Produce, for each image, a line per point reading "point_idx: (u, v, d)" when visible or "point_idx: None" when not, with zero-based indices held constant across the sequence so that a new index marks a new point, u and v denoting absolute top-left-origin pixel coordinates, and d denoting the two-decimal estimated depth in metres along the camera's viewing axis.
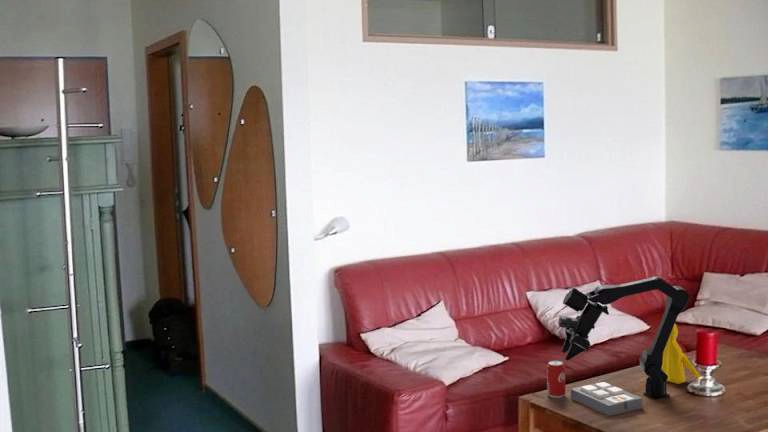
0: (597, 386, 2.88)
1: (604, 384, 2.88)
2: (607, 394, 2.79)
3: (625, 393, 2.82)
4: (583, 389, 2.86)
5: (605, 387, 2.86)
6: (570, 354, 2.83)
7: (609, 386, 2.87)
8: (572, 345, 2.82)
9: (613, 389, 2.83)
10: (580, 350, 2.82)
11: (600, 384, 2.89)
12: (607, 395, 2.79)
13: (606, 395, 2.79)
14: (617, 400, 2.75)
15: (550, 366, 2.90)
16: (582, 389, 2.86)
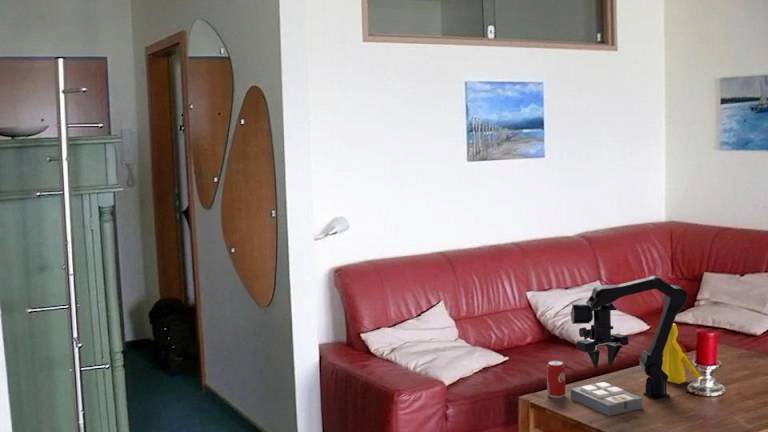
0: (597, 386, 2.88)
1: (604, 384, 2.88)
2: (607, 394, 2.79)
3: (625, 393, 2.82)
4: (583, 389, 2.86)
5: (605, 387, 2.86)
6: (593, 361, 2.86)
7: (609, 386, 2.87)
8: (588, 352, 2.86)
9: (613, 389, 2.83)
10: (594, 354, 2.83)
11: (600, 384, 2.89)
12: (607, 395, 2.79)
13: (606, 395, 2.79)
14: (617, 400, 2.75)
15: (550, 366, 2.90)
16: (582, 389, 2.86)
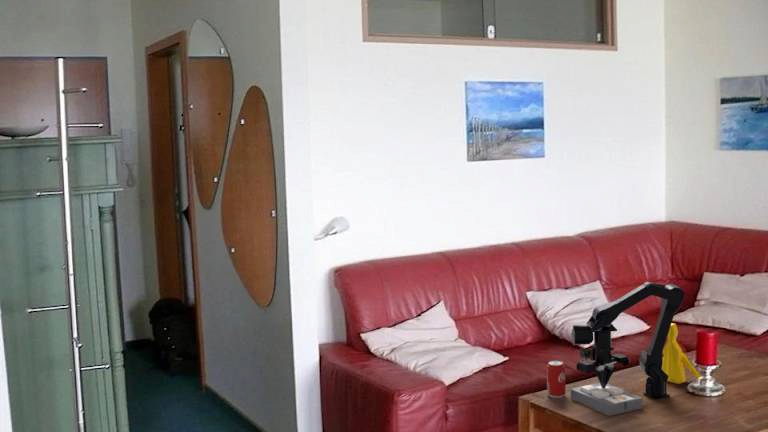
0: None
1: None
2: (607, 394, 2.79)
3: (625, 393, 2.82)
4: (583, 389, 2.86)
5: None
6: (600, 380, 2.88)
7: None
8: (595, 371, 2.88)
9: (613, 389, 2.83)
10: (601, 374, 2.85)
11: (600, 387, 2.89)
12: (607, 395, 2.79)
13: (606, 395, 2.79)
14: (617, 400, 2.75)
15: (550, 366, 2.90)
16: (582, 389, 2.86)
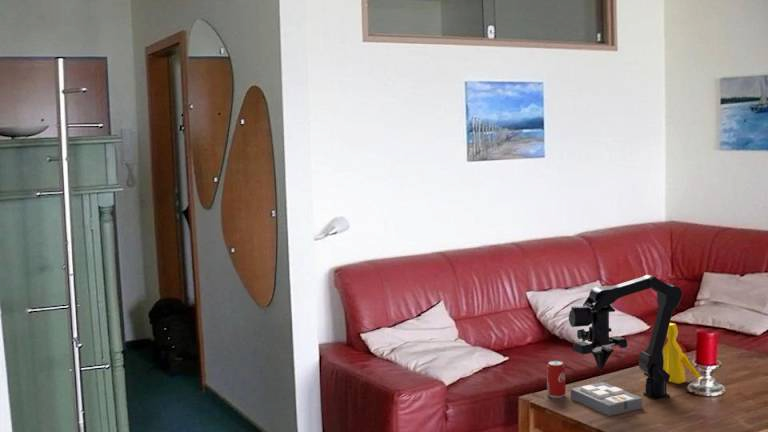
0: None
1: (604, 388, 2.88)
2: (607, 394, 2.79)
3: (625, 393, 2.82)
4: (583, 389, 2.86)
5: None
6: (597, 362, 2.83)
7: None
8: (592, 353, 2.84)
9: (613, 389, 2.83)
10: (598, 355, 2.81)
11: (600, 387, 2.89)
12: (607, 395, 2.79)
13: (606, 395, 2.79)
14: (617, 400, 2.75)
15: (550, 366, 2.90)
16: (582, 389, 2.86)
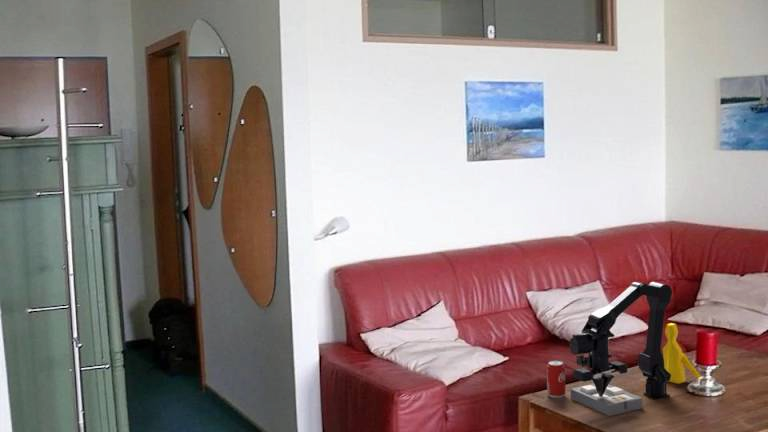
0: None
1: None
2: None
3: (625, 393, 2.82)
4: (583, 389, 2.86)
5: None
6: (597, 389, 2.80)
7: None
8: (592, 379, 2.80)
9: (613, 389, 2.83)
10: (599, 382, 2.78)
11: None
12: None
13: None
14: (617, 400, 2.75)
15: (550, 366, 2.90)
16: (582, 389, 2.86)
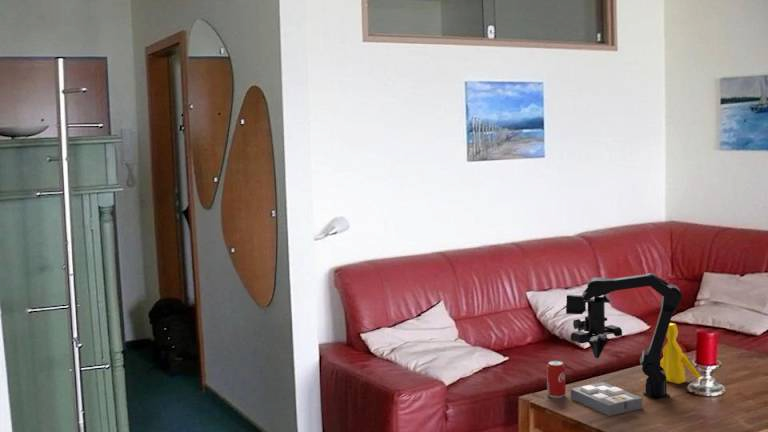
0: None
1: (604, 388, 2.88)
2: None
3: (625, 393, 2.82)
4: (583, 389, 2.86)
5: None
6: (594, 351, 2.91)
7: None
8: (589, 342, 2.91)
9: (613, 389, 2.83)
10: (595, 344, 2.89)
11: (600, 387, 2.89)
12: None
13: None
14: (617, 400, 2.75)
15: (550, 366, 2.90)
16: (582, 389, 2.86)
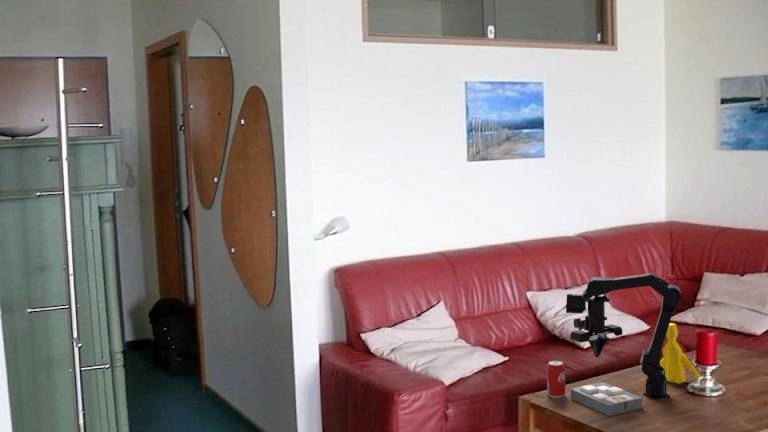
0: None
1: (604, 388, 2.88)
2: None
3: (625, 393, 2.82)
4: (583, 389, 2.86)
5: None
6: (594, 350, 2.92)
7: None
8: (589, 341, 2.92)
9: (613, 389, 2.83)
10: (595, 343, 2.89)
11: (600, 387, 2.89)
12: None
13: None
14: (617, 400, 2.75)
15: (550, 366, 2.90)
16: (582, 389, 2.86)
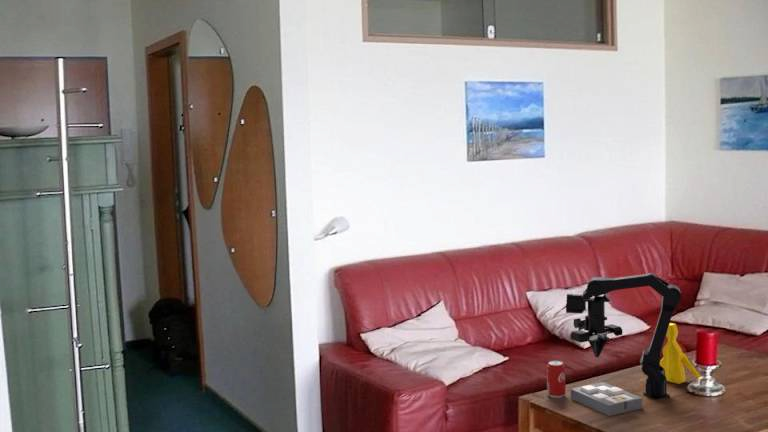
0: None
1: (604, 388, 2.88)
2: None
3: (625, 393, 2.82)
4: (583, 389, 2.86)
5: None
6: (594, 350, 2.92)
7: None
8: (589, 341, 2.92)
9: (613, 389, 2.83)
10: (595, 343, 2.89)
11: (600, 387, 2.89)
12: None
13: None
14: (617, 400, 2.75)
15: (550, 366, 2.90)
16: (582, 389, 2.86)
